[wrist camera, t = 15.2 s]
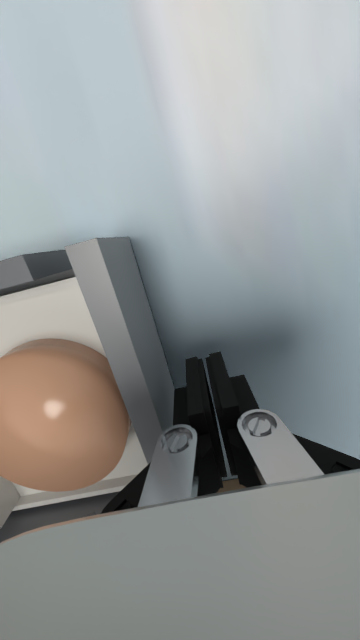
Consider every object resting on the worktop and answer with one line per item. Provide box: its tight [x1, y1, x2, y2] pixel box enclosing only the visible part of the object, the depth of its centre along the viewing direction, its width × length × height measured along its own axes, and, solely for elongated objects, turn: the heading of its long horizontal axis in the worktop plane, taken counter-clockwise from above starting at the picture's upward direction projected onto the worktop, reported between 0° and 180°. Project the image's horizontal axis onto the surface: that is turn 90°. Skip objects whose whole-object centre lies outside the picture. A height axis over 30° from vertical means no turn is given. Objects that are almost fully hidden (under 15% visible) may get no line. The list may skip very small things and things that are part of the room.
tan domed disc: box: [0, 338, 132, 492], centre depth 13 cm, size 8×8×2 cm
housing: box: [0, 250, 120, 543], centre depth 13 cm, size 12×15×5 cm
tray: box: [0, 237, 175, 528], centre depth 12 cm, size 13×14×5 cm
